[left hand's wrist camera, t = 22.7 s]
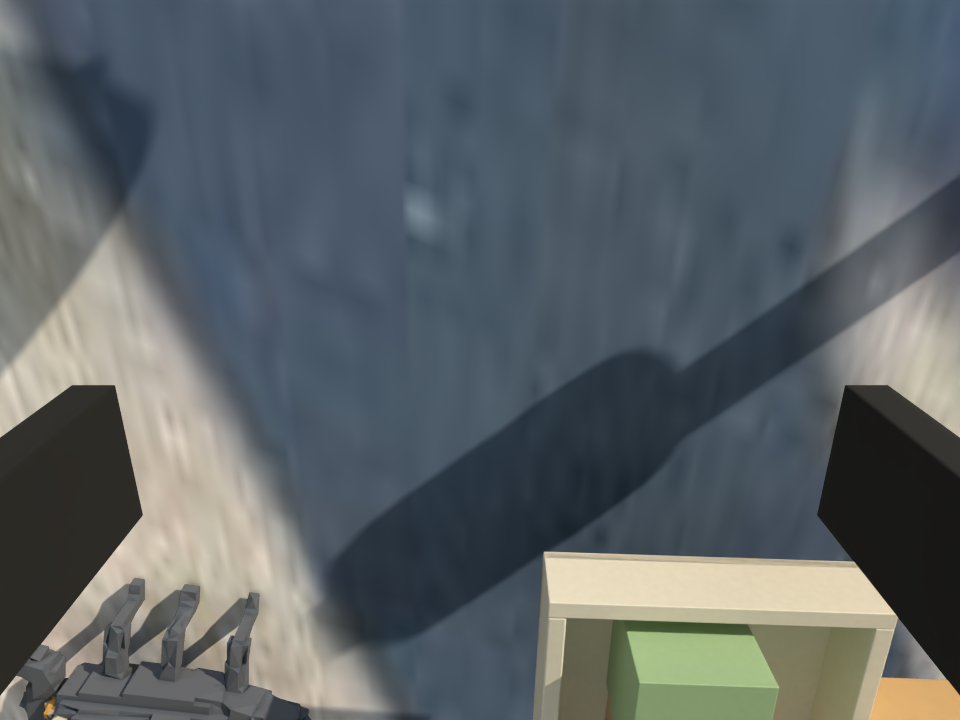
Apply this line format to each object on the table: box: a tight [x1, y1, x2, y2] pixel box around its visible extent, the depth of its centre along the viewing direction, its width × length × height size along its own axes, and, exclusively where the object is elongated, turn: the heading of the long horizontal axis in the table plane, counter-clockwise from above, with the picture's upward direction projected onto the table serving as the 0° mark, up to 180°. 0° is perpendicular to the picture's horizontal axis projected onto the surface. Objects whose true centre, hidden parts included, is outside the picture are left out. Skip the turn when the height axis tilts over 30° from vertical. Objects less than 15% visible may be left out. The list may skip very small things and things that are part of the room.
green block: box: [606, 620, 779, 720], centre depth 30 cm, size 6×6×6 cm
